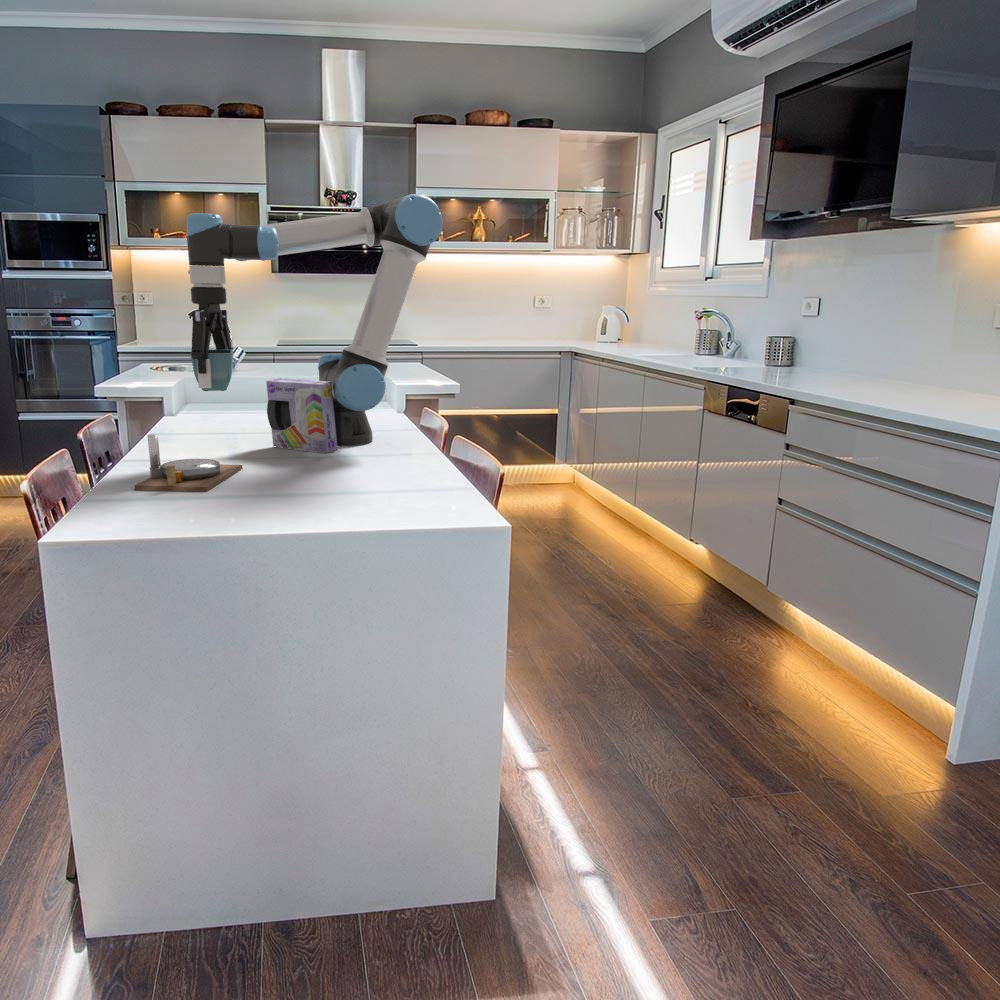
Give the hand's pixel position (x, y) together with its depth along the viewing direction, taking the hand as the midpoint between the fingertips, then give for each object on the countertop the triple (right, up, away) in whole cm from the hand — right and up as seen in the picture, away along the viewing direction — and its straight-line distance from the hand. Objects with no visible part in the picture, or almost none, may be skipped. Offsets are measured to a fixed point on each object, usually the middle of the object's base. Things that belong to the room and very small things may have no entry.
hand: (214, 385), depth 196 cm
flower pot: (0, -1, 0) cm, 1 cm away
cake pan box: (+16, -14, +19) cm, 29 cm away
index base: (-1, -22, -13) cm, 26 cm away
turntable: (-1, -21, -14) cm, 26 cm away
